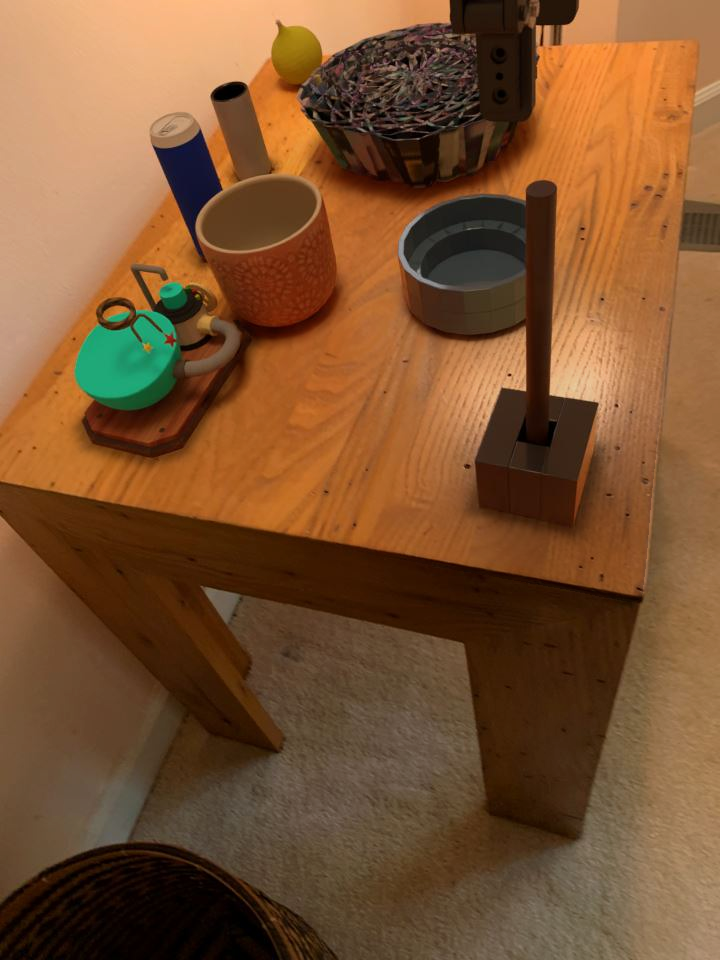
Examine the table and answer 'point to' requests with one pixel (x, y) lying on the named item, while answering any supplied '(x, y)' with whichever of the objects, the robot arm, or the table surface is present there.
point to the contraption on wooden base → (156, 367)
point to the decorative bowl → (405, 107)
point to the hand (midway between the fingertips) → (532, 66)
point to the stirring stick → (539, 305)
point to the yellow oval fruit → (295, 53)
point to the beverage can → (185, 165)
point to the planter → (270, 248)
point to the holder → (536, 458)
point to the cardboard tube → (241, 129)
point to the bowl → (466, 264)
